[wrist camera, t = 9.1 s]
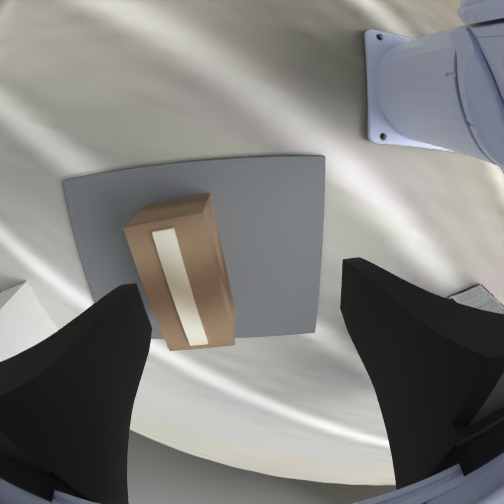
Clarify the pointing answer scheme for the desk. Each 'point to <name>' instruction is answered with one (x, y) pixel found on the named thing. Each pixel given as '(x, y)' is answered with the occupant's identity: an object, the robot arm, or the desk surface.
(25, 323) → the white cube
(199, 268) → the brown box with strip
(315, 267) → the rubber mat
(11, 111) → the desk surface
